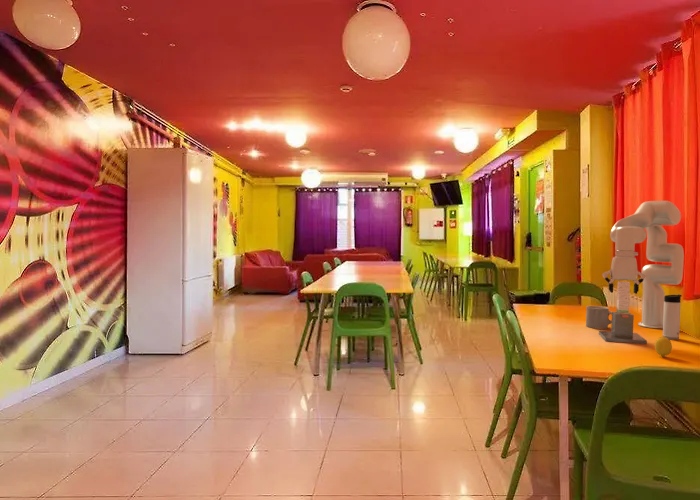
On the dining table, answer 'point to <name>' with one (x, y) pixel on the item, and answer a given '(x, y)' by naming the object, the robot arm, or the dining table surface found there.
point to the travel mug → (671, 316)
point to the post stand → (622, 330)
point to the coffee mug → (598, 317)
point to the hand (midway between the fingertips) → (623, 292)
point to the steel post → (623, 297)
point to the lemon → (663, 346)
